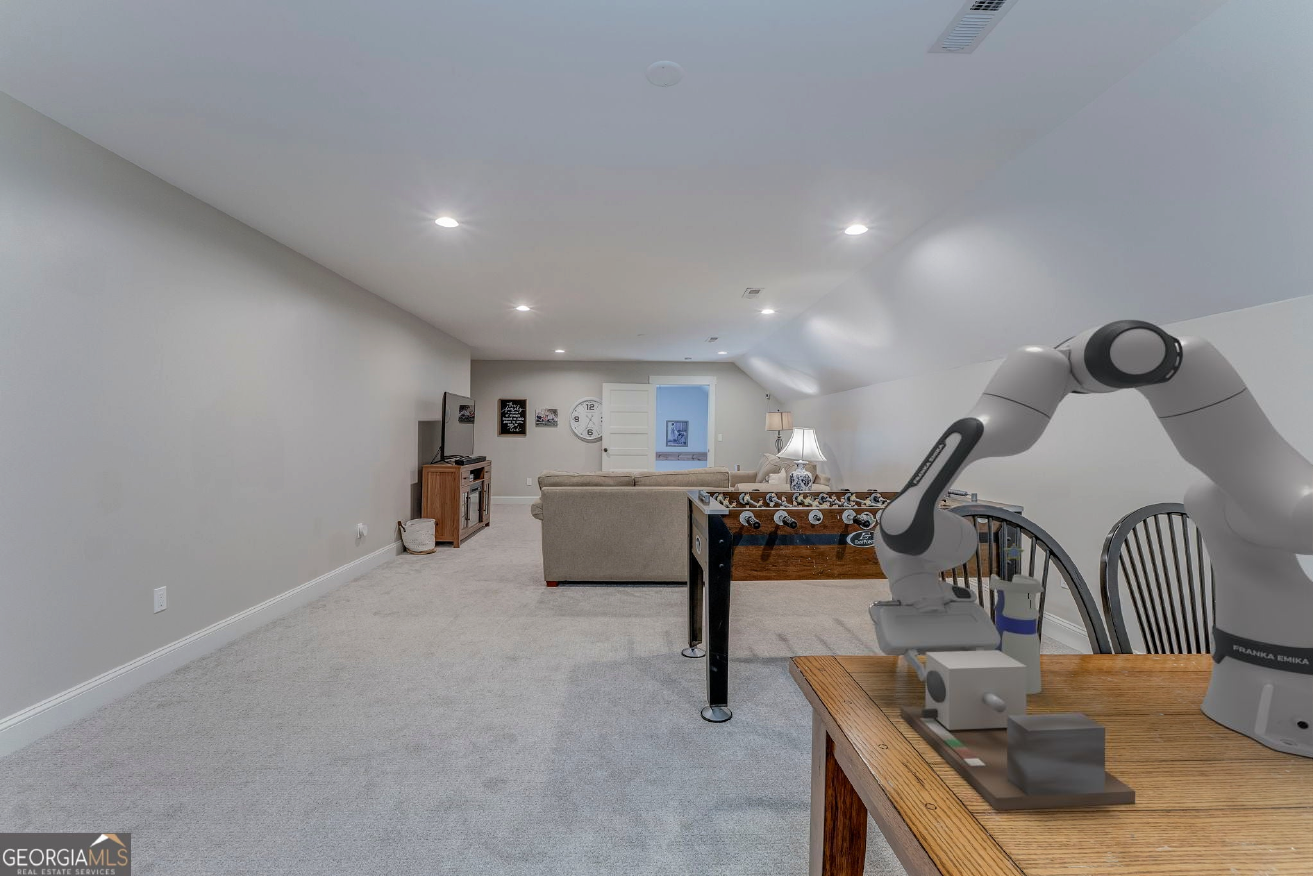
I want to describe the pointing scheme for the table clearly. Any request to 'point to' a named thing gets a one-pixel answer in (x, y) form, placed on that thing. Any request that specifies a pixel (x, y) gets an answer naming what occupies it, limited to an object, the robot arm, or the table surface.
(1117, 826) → the table surface
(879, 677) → the table surface
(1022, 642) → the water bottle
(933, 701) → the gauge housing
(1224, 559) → the robot arm
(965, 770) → the gauge stand
